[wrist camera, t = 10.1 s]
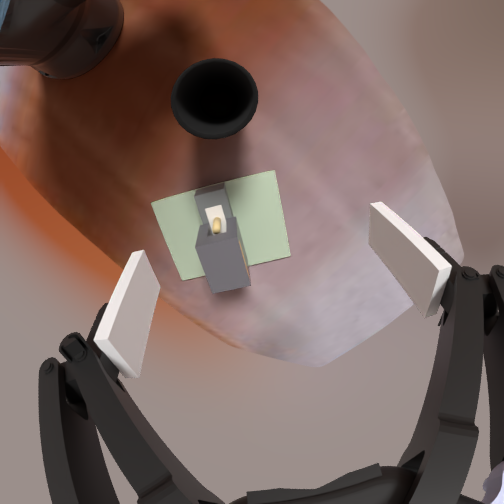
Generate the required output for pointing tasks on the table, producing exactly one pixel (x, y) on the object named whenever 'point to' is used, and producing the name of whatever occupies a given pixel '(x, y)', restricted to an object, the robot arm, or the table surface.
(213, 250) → the plug block
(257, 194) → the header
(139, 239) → the table surface
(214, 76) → the cup
